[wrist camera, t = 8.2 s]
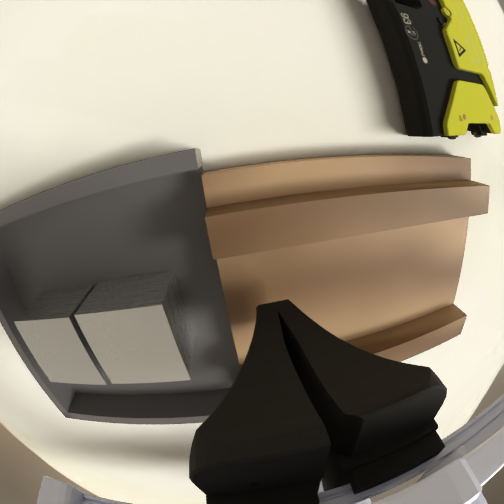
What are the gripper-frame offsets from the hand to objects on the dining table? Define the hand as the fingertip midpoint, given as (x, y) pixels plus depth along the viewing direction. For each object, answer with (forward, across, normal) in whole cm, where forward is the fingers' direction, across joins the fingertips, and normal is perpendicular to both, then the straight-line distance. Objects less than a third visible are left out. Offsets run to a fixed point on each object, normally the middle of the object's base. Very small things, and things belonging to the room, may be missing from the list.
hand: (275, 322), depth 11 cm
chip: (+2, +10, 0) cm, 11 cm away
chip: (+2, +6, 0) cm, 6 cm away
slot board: (+3, -5, 0) cm, 6 cm away
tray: (+3, +9, 0) cm, 9 cm away
